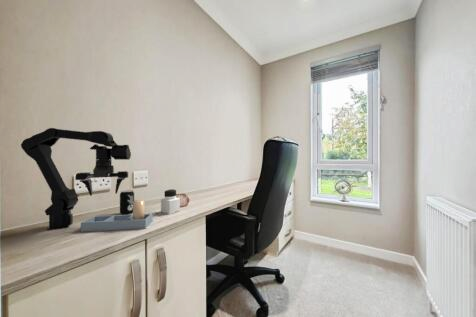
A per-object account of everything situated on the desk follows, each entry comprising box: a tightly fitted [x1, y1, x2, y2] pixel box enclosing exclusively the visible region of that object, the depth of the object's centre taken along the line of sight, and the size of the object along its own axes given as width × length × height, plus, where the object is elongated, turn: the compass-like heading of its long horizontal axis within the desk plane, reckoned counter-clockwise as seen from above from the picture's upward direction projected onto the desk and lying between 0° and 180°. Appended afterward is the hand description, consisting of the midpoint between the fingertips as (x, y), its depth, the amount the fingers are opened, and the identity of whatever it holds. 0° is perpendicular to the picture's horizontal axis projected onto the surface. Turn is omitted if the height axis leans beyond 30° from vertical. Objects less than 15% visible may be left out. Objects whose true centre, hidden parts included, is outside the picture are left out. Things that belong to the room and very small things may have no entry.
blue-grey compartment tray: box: [80, 213, 154, 233], centre depth 80 cm, size 25×9×4 cm, turn 97°
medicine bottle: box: [160, 189, 181, 215], centre depth 102 cm, size 7×7×12 cm
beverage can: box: [119, 189, 135, 215], centre depth 100 cm, size 7×7×12 cm
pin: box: [132, 199, 145, 220], centre depth 81 cm, size 4×4×10 cm
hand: (104, 194), depth 84 cm, fingers open, 9 cm apart
